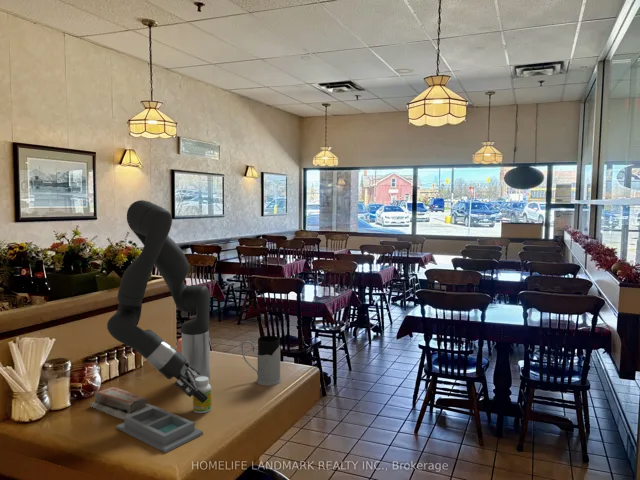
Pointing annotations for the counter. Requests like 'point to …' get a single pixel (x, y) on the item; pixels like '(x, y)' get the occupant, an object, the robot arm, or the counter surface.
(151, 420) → the divided tray
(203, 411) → the supplement bottle
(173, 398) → the counter surface
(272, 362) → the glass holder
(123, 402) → the packaged product
